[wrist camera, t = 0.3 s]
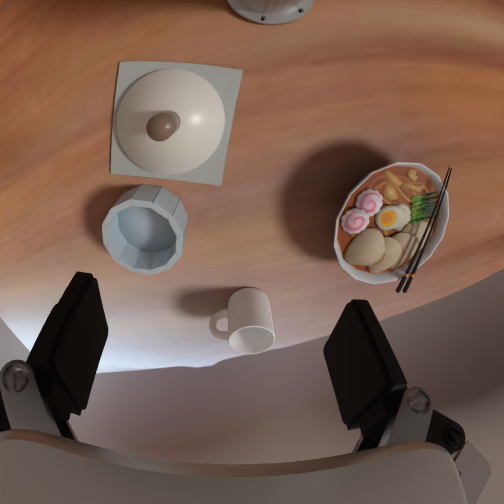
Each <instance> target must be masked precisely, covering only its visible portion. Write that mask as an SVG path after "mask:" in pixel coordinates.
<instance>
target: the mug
mask: <svg viewBox="0 0 504 504" xmlns="http://www.w3.org/2000/svg"><path fill="white" fill-rule="evenodd" d="M223 316H228V331H219V330H218V329H217V328H216V323H217V321H218V319H219V318H221V317H223ZM209 328H210V331H211V333H212V334H213V335H214V336H215V337H217V338H219V339H225V340H228V342H229V345H230V347H231V348H232V349H233V350H235V351H237V352H239V353H242V354H257V353H261V352H264V351H266V350H268V349H269V348H270V347H271V346H272V345H273V344H274V342H275V334H274V328H273V322H272V316H271V310H270V304H269V300H268V297H267V295H266V294H265V293H264V292H263V291H261V290H259V289H256V288H243V289H240V290H238V291H236V292H234V293H233V294H232V295H231V297H230V298H229V302H228V308H226V309H222V310H220V311H218V312H216V313H215V314H214V315H213V316H212V318H211V320H210V323H209Z"/></svg>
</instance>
